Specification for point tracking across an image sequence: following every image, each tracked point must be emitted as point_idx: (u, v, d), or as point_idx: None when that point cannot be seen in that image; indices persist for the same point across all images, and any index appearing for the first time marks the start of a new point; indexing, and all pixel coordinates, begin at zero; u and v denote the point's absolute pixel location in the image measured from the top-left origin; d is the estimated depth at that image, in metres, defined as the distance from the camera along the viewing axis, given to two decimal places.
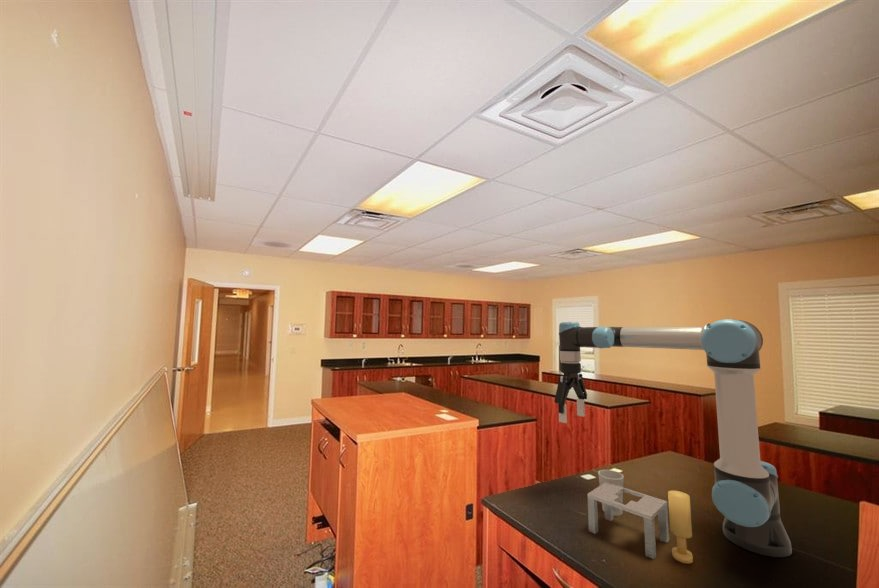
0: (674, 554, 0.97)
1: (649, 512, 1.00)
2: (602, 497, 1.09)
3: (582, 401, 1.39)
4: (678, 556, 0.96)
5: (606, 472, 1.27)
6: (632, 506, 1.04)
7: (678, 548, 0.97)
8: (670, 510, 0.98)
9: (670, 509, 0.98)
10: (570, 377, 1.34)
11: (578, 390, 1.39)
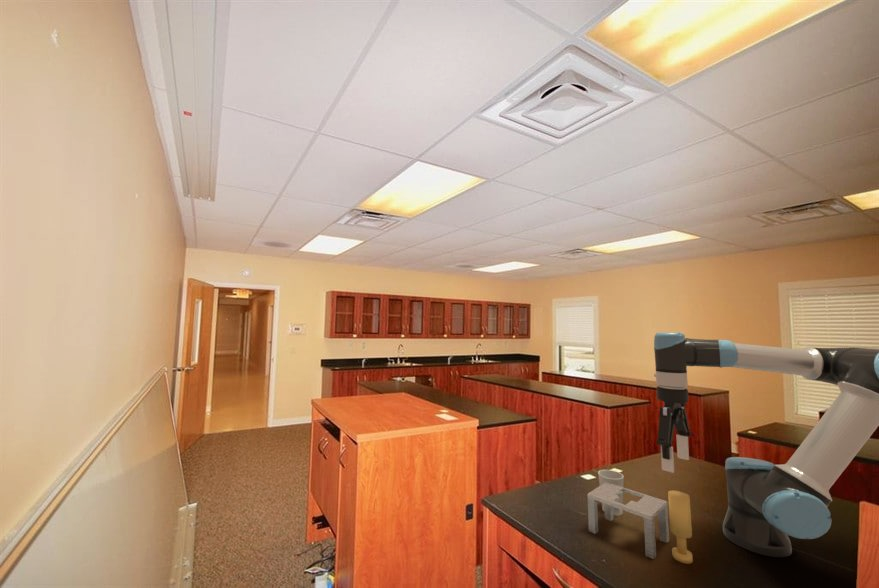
0: (674, 554, 0.97)
1: (649, 512, 1.00)
2: (602, 497, 1.09)
3: (685, 439, 1.04)
4: (678, 556, 0.96)
5: (606, 472, 1.27)
6: (632, 506, 1.04)
7: (678, 548, 0.97)
8: (670, 510, 0.98)
9: (670, 509, 0.98)
10: (674, 408, 0.99)
11: (681, 424, 1.03)
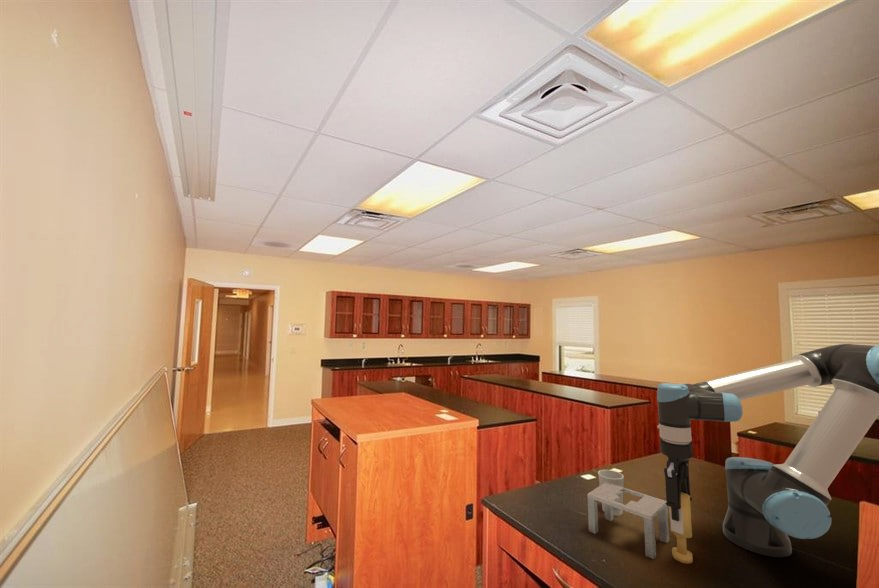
0: (674, 554, 0.97)
1: (649, 512, 1.00)
2: (602, 497, 1.09)
3: None
4: (678, 556, 0.96)
5: (606, 472, 1.27)
6: (632, 506, 1.04)
7: (678, 548, 0.97)
8: None
9: None
10: (678, 462, 0.97)
11: (682, 483, 1.00)
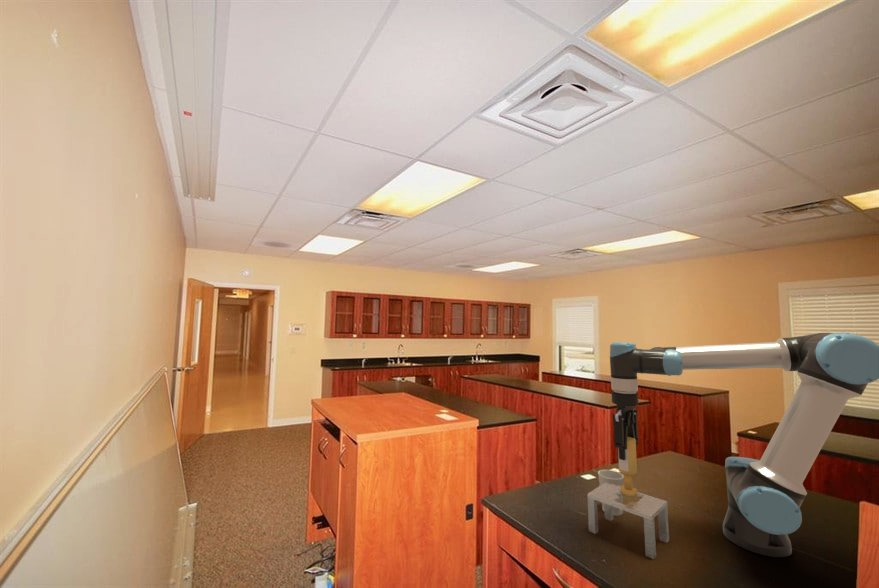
0: (621, 490, 1.10)
1: (649, 512, 1.00)
2: (602, 497, 1.09)
3: None
4: (624, 491, 1.09)
5: (606, 472, 1.27)
6: (632, 506, 1.04)
7: (625, 485, 1.11)
8: None
9: None
10: (625, 409, 1.10)
11: (630, 429, 1.13)
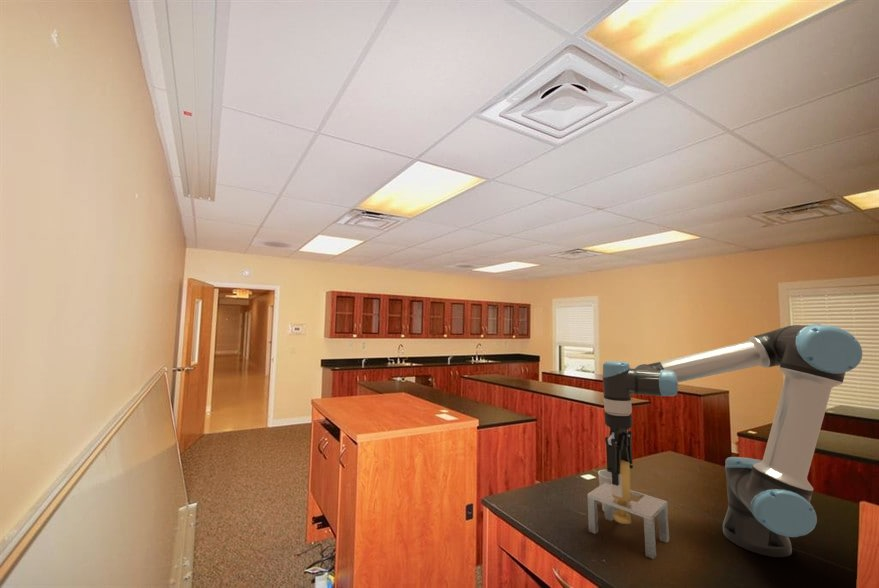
0: (615, 516, 1.06)
1: (649, 512, 1.00)
2: (602, 497, 1.09)
3: None
4: (618, 517, 1.05)
5: (606, 472, 1.27)
6: (632, 506, 1.04)
7: (618, 511, 1.06)
8: None
9: None
10: (618, 432, 1.06)
11: (624, 452, 1.09)
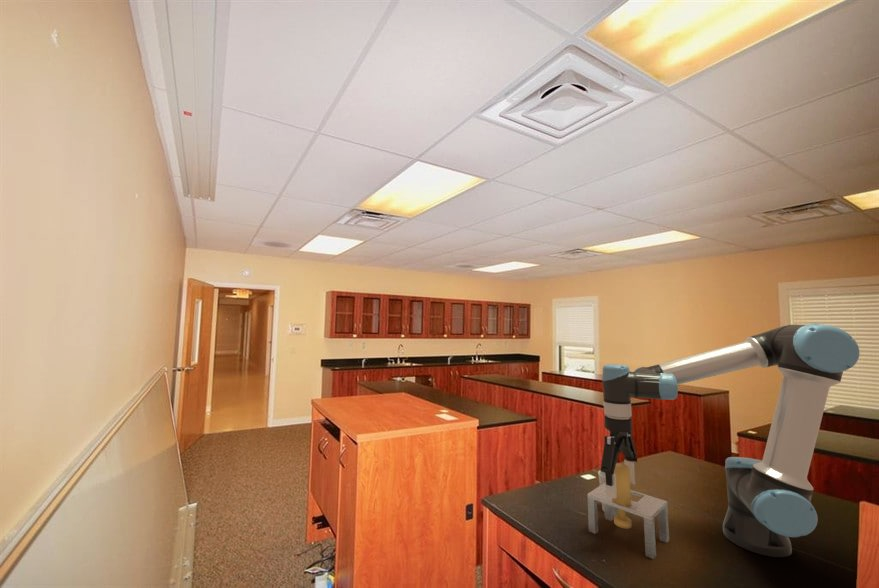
0: (615, 520, 1.06)
1: (649, 512, 1.00)
2: (602, 497, 1.09)
3: (632, 464, 1.11)
4: (618, 522, 1.05)
5: None
6: (632, 506, 1.04)
7: (619, 515, 1.06)
8: None
9: None
10: (619, 437, 1.06)
11: (627, 451, 1.10)
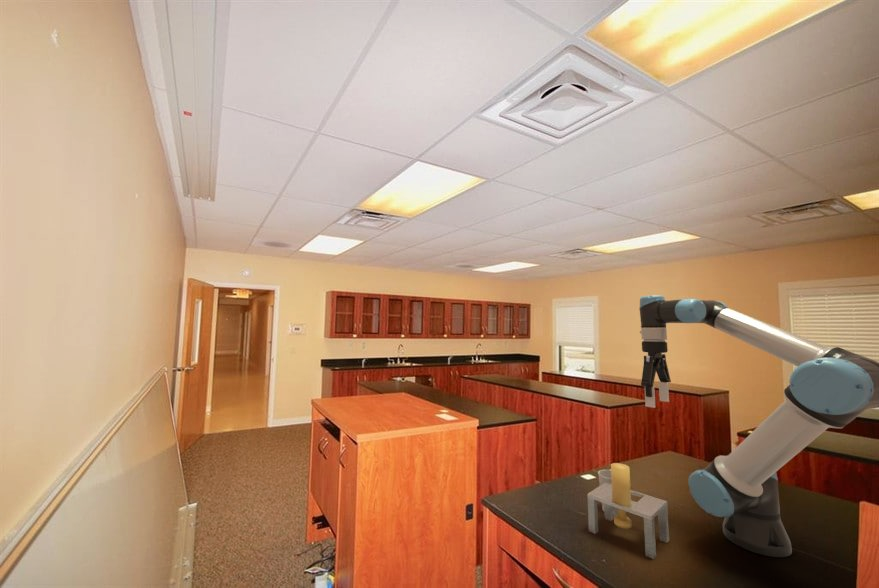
0: (615, 520, 1.06)
1: (649, 512, 1.00)
2: (602, 497, 1.09)
3: (666, 384, 1.25)
4: (618, 522, 1.05)
5: (606, 472, 1.27)
6: (632, 506, 1.04)
7: (619, 515, 1.06)
8: (612, 480, 1.07)
9: (612, 479, 1.07)
10: (656, 357, 1.20)
11: (662, 372, 1.24)
